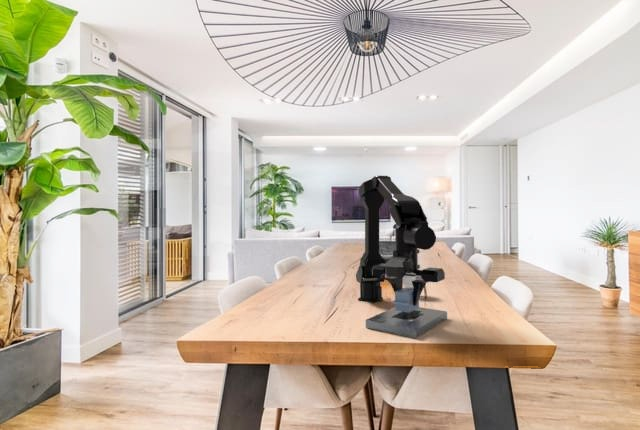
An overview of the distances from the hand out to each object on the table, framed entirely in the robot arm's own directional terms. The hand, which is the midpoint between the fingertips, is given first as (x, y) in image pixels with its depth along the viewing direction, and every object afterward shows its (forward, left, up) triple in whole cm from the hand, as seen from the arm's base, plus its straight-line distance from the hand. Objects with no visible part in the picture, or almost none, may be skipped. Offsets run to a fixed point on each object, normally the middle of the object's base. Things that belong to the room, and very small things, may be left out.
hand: (407, 304), depth 99 cm
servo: (0, 0, -1) cm, 1 cm away
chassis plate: (0, 0, -5) cm, 5 cm away
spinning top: (-14, +31, -5) cm, 34 cm away
